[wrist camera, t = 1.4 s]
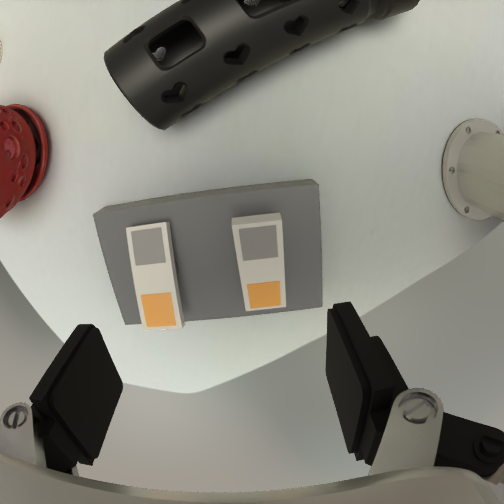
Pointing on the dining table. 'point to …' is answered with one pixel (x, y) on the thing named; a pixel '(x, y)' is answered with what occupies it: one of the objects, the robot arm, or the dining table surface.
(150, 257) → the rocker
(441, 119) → the dining table surface
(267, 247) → the rocker
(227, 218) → the switch panel
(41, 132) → the plant pot
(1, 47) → the cup
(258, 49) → the muzzle brake
